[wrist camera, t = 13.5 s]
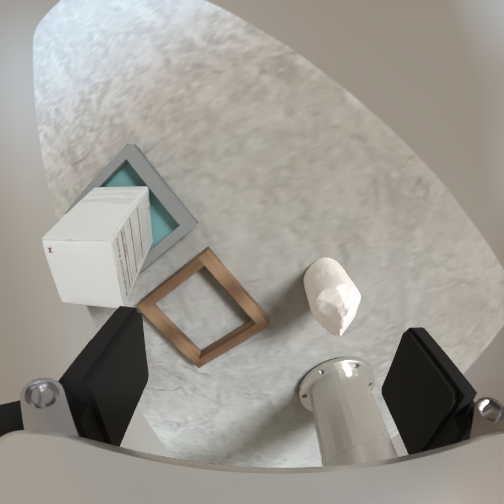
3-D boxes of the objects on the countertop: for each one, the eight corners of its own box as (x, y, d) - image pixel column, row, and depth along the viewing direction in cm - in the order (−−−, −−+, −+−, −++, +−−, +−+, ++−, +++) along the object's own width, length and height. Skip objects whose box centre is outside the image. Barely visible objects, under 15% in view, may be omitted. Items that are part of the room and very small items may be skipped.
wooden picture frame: (268, 317, 40) (269, 325, 38) (200, 359, 42) (198, 367, 40) (208, 246, 37) (205, 251, 35) (141, 299, 39) (136, 306, 37)
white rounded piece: (368, 352, 27) (315, 355, 27) (340, 299, 39) (299, 299, 39) (381, 300, 26) (324, 301, 26) (346, 257, 37) (303, 256, 37)
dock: (198, 222, 36) (194, 227, 33) (130, 278, 38) (124, 286, 36) (135, 144, 33) (127, 144, 30) (74, 209, 35) (65, 213, 33)
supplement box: (102, 240, 35) (59, 303, 24) (94, 185, 31) (38, 237, 21) (155, 242, 36) (125, 312, 25) (151, 185, 32) (110, 240, 21)
